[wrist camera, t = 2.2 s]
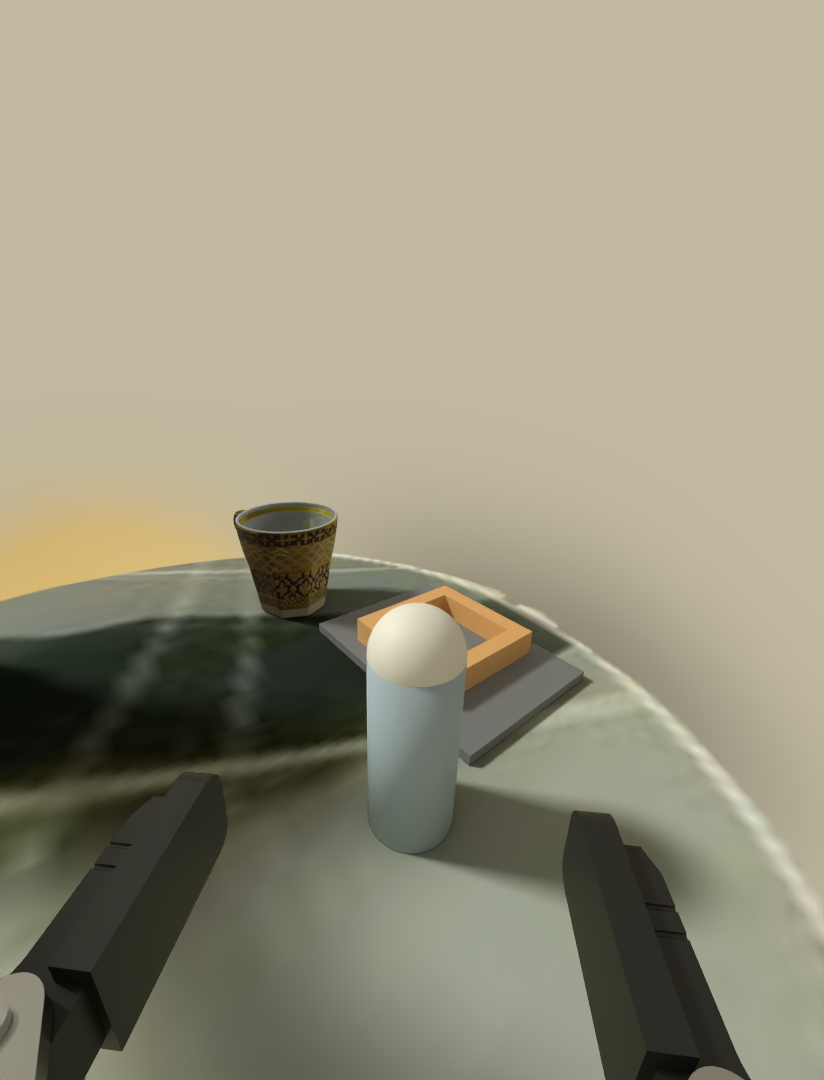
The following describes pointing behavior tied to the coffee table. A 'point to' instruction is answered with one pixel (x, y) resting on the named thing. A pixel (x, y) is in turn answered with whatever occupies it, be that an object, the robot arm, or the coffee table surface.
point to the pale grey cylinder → (414, 725)
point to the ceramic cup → (288, 554)
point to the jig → (474, 664)
